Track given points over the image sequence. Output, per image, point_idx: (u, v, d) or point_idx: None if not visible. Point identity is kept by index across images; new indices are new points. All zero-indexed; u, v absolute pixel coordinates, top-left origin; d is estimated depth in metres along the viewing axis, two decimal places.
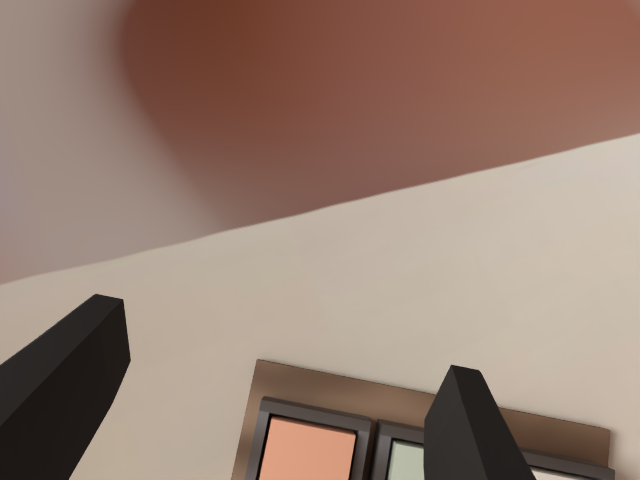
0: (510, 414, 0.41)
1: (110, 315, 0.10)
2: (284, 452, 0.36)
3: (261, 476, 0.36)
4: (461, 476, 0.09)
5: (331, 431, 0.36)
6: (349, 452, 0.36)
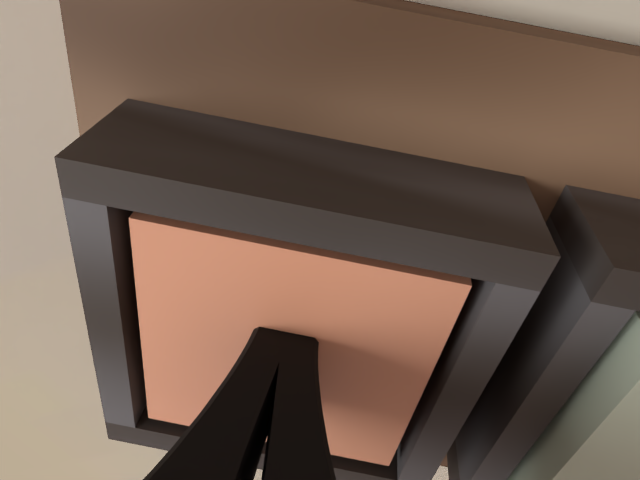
0: None
1: (282, 349, 0.10)
2: (204, 313, 0.10)
3: (147, 361, 0.11)
4: None
5: (373, 267, 0.09)
6: (439, 329, 0.10)
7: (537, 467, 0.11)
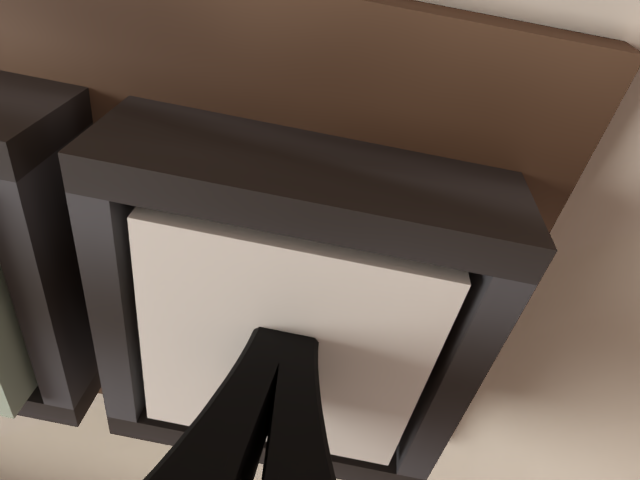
0: None
1: (282, 349, 0.10)
2: None
3: None
4: None
5: None
6: None
7: None
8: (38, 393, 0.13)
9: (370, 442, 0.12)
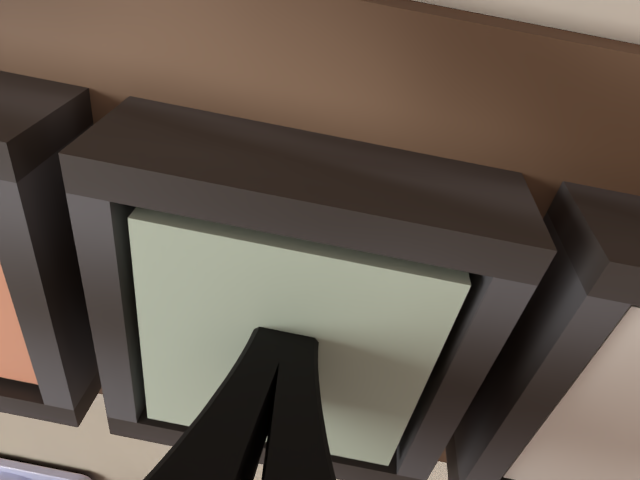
0: None
1: (282, 349, 0.10)
2: None
3: None
4: None
5: None
6: None
7: None
8: None
9: None
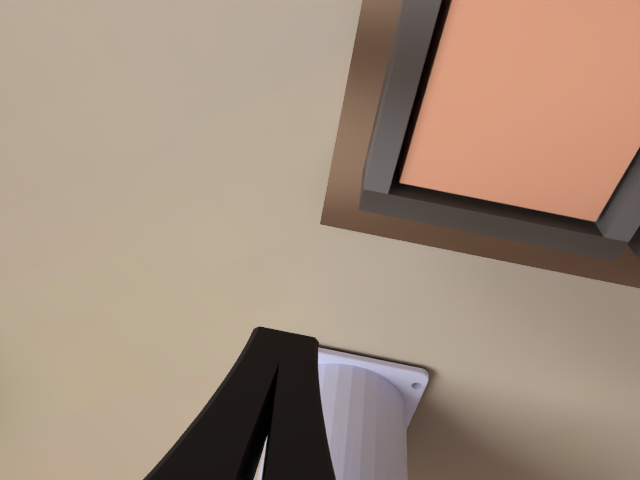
0: None
1: (282, 349, 0.10)
2: (491, 54, 0.13)
3: (423, 113, 0.14)
4: None
5: None
6: None
7: None
8: None
9: None
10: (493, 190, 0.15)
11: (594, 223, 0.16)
